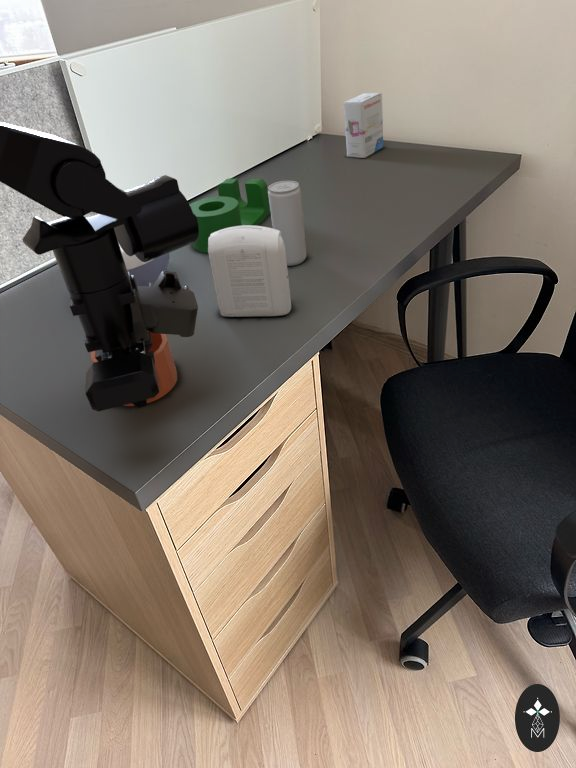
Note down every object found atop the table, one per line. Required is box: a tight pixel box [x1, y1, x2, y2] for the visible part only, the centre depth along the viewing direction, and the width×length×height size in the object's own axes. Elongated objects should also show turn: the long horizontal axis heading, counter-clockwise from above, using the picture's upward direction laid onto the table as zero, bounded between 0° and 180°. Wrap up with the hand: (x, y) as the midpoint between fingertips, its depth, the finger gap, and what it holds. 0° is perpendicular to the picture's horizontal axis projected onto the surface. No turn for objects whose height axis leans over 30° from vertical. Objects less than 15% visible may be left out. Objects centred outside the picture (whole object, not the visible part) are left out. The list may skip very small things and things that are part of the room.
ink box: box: [343, 92, 384, 159], centre depth 128 cm, size 9×5×12 cm, turn 141°
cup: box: [90, 330, 178, 407], centre depth 68 cm, size 9×9×6 cm
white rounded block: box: [207, 225, 292, 318], centre depth 76 cm, size 10×4×12 cm, turn 83°
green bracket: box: [189, 177, 271, 254], centre depth 102 cm, size 18×9×6 cm, turn 160°
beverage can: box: [267, 180, 307, 267], centre depth 88 cm, size 5×5×12 cm
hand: (142, 405), depth 63 cm, fingers closed
